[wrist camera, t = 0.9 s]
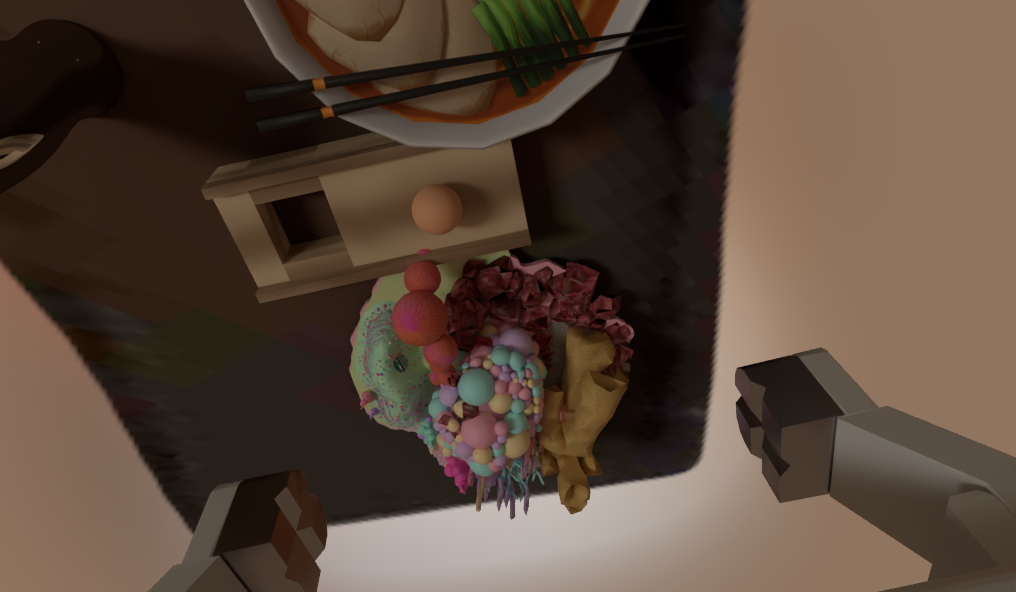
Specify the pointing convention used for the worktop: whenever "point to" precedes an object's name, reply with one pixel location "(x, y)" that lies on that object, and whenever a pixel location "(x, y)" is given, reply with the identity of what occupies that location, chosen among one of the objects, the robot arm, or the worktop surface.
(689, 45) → the worktop surface
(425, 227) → the ball
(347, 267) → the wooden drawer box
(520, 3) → the ramen bowl
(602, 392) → the pastel sphere sculpture
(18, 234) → the worktop surface
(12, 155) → the beer glass
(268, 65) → the worktop surface
